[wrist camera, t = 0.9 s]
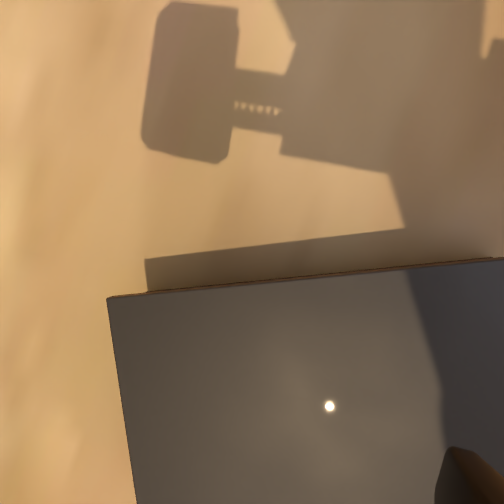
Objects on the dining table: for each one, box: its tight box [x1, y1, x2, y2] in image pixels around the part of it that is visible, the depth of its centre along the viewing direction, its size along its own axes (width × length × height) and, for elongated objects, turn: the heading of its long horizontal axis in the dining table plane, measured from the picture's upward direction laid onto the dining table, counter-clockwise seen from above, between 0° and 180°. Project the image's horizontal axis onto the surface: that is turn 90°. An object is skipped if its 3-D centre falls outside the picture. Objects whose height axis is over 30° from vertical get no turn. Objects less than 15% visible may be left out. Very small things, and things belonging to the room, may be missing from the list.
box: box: [106, 257, 504, 504], centre depth 21 cm, size 11×17×3 cm, turn 97°
